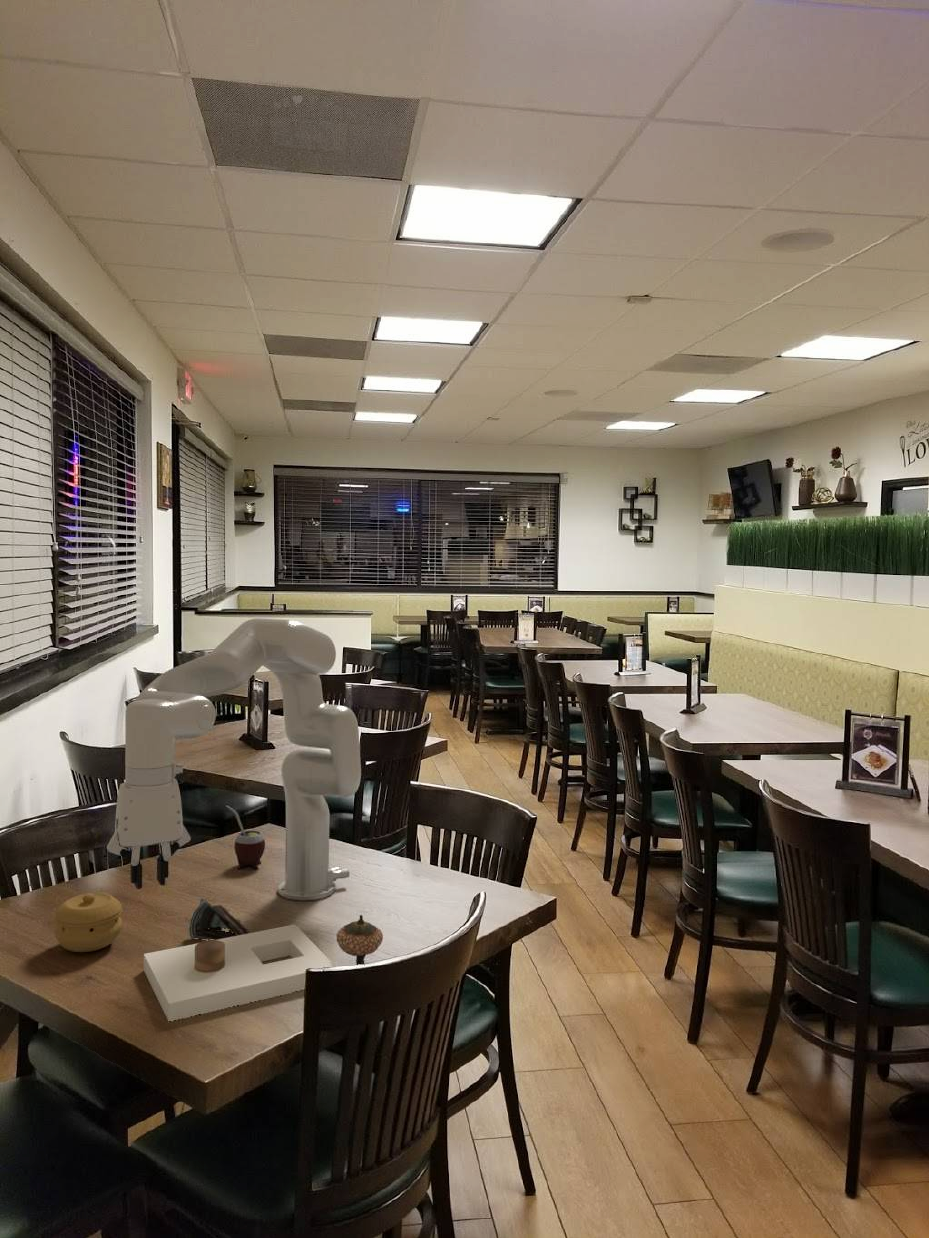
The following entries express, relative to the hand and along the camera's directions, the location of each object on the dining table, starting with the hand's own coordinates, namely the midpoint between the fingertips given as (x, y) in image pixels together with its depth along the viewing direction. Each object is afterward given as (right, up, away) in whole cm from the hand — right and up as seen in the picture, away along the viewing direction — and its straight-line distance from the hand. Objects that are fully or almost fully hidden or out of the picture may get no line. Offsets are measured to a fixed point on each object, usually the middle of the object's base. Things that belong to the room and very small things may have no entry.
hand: (149, 883), depth 146 cm
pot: (-18, -18, +20) cm, 32 cm away
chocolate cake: (+6, -18, +26) cm, 32 cm away
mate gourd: (0, -16, +64) cm, 66 cm away
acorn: (+33, -19, +13) cm, 41 cm away
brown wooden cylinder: (+8, -16, +6) cm, 19 cm away
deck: (+12, -19, +9) cm, 24 cm away
